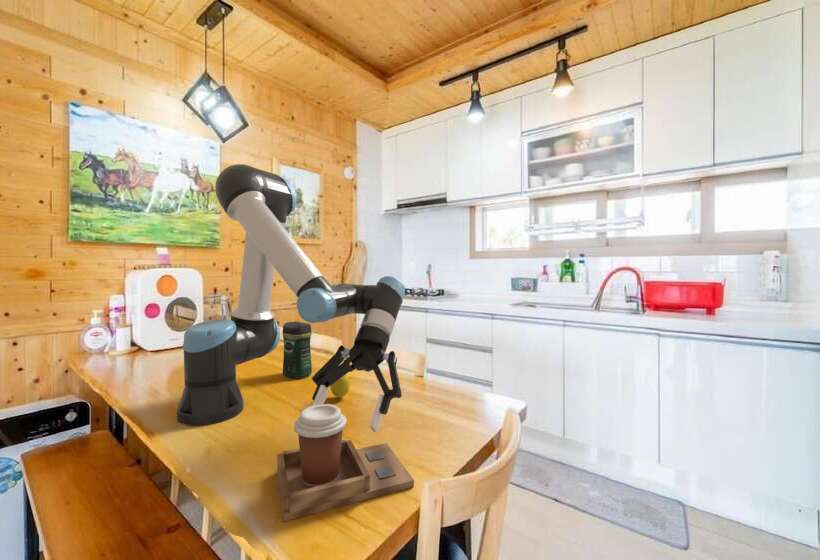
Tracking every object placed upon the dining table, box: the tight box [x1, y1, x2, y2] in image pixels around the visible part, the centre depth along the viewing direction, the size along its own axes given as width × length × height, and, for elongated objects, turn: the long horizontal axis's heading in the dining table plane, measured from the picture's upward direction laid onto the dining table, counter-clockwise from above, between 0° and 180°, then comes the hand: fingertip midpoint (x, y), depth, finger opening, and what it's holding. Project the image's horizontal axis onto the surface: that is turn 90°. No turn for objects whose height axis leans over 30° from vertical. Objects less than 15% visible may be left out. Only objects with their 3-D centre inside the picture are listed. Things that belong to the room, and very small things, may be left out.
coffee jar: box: [282, 321, 313, 379], centre depth 123 cm, size 10×8×19 cm
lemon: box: [329, 374, 351, 399], centre depth 103 cm, size 6×6×8 cm
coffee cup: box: [293, 403, 348, 488], centre depth 63 cm, size 9×9×12 cm
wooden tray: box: [276, 439, 415, 523], centre depth 65 cm, size 22×14×4 cm, turn 114°
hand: (341, 423), depth 70 cm, fingers open, 13 cm apart
